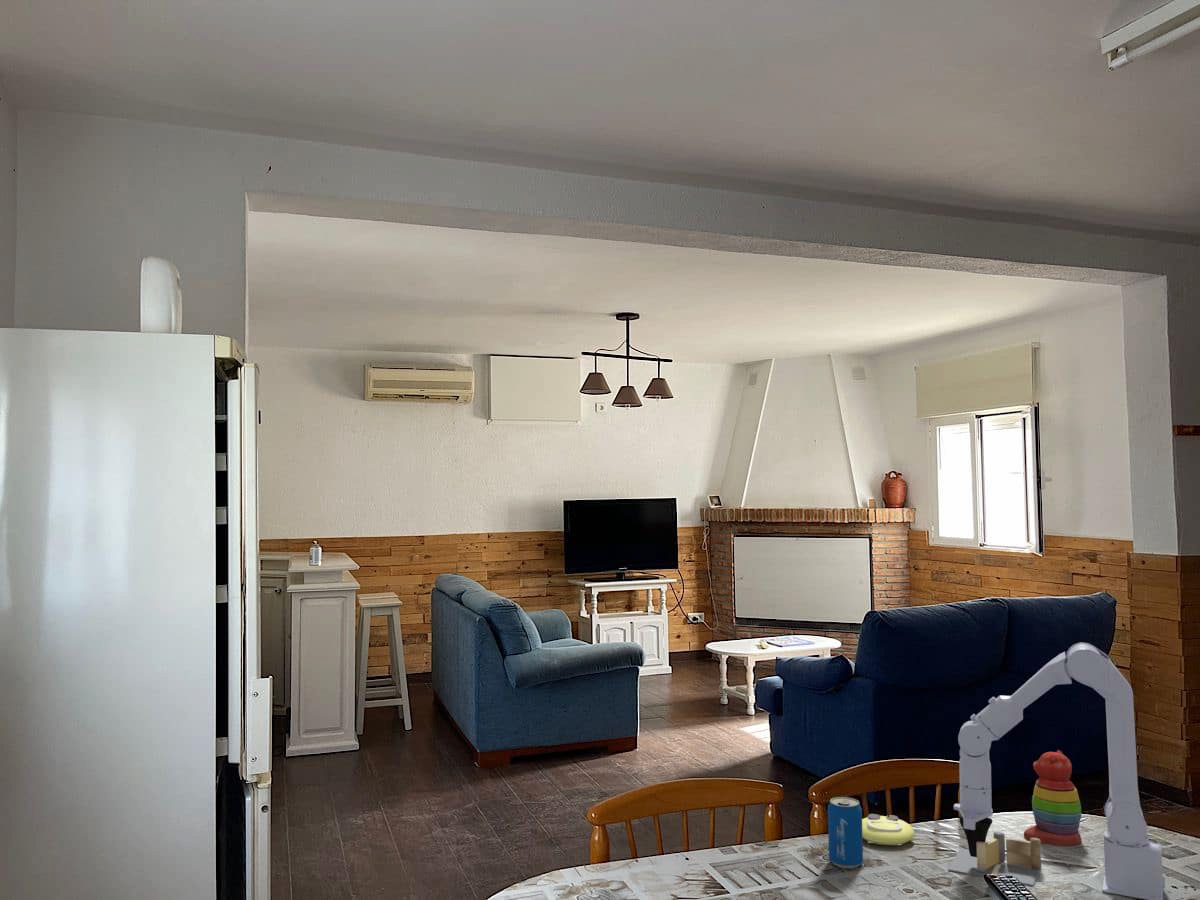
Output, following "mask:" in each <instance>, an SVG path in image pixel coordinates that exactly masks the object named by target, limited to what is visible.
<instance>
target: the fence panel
mask: <svg viewBox="0 0 1200 900" xmlns="http://www.w3.org/2000/svg"><path fill="white" fill-rule="evenodd" d="M992 836H993V838H992V839H990V840H988V841H985V843H984V842H976V843H977V870H978V871H982V872H985V871H986V869H987V868H989V867H991V866H993V865H994V864H996V863H998V862H999V861H1000V862H1004V861H1005V856H1006V837H1005V833H1004V832H1001V831H994V832H993V835H992Z"/></svg>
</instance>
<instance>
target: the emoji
mask: <svg viewBox="0 0 1200 900" xmlns="http://www.w3.org/2000/svg"><path fill="white" fill-rule="evenodd" d="M915 833H916V832H915V830H914V828H913V826H911V825H910V824H909V823H907V822H906V821H904V820H902V819H899V817H898V816H897V815H893V814H889V817H888V815H886V816H884V815H880V814H877V813H869V814H868V816H867V817H864V818H862V839H864V840H865V841H867V842H868V841H870V842H873V843H876V844H875V845H883V846H899V845H898V844H903V845H904V844H905V843H908V842H909V841H911V840H913V838H914V836H915Z"/></svg>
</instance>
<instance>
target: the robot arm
mask: <svg viewBox="0 0 1200 900" xmlns="http://www.w3.org/2000/svg"><path fill="white" fill-rule="evenodd" d="M1072 679H1074V680H1075V681H1076V682H1078V683H1080V684H1082V685H1084V686H1088V687H1090V688H1091V689H1093V690H1094V691H1095V692H1097V693H1098V694H1099V695H1100V696H1102V698H1103V699H1105V700H1104V701H1105V715H1106V716H1105V717H1106V718H1105V719H1106V738H1107V739H1106V741H1107V756H1108V757H1107V758H1108V778H1109V779H1108V780H1109V782H1108V783H1109V784H1108V786H1109V787H1108V793H1109V795H1108V798H1107V801H1106V802H1105V805H1104V815H1105V818H1106V820H1107V821H1106V823H1107V830H1105V831H1104V832H1103V846H1104V847H1103V849H1104V875H1103V881H1102V885H1101V886H1102V887H1101V891H1102V892H1103V893H1108V894H1113V895H1119V896H1125V897H1130V898H1137V899H1143V900H1164V889H1165V888H1166V880H1165V879H1166V878H1165V877H1164V876H1163V856H1162V855H1163V853H1162V845H1161V844H1159V843H1155V842H1151V841H1150V840H1149V836H1147V835H1148V825H1147V822H1146V820H1145V818H1144V813H1143V809H1142V807H1141V802H1140V794H1139V786H1138V784H1139V783H1138V767H1137V766H1138V764H1137V748H1136V747H1137V746H1136V745H1137V744H1136V730H1135V729H1136V726H1135V725H1136V724H1135V710H1134V709H1135V708H1134V706H1135V705H1134V692H1133V688H1132V686H1131V684H1130V683H1129V682H1128V680H1127V679H1126V678H1125V677H1124V675H1123V674H1122V673H1121V672H1120V670H1119V669H1118V668H1117V666H1116V665H1115V664H1114V662H1113V661H1112V660H1111V658H1109V656H1108V655H1107V654H1106V653H1105V652H1103V651H1101V649H1099V648H1097V647H1096V646H1094V645H1092V644H1091V643H1088V642H1078V643H1074V644H1072V645H1071V646H1070V647H1069V648H1068V650H1067V651H1063V652H1061V653H1059V654H1058V655H1057V656H1055V657H1054V658H1052V659H1051V660H1050V661H1049V662H1047V663H1046V664H1045V665H1043V666H1042V668H1040V669H1039V670H1037V672H1036V673H1035V674H1034V675H1032V677H1030V678H1029V679H1028V680H1027V681H1026V682H1025V683H1024V684H1022V685H1021V686H1020V687H1019V688H1018V689H1017V690H1015V692H1014V693H1012V694H1011V695H998V696H997V697H995V696H992V697H991V698H990V699H988V705H987V706H986V707H984V708H983V709H982V710H981V711H979V712H978V713H977V714H975V713H973V714H972V715H971V716H970V718H969V719H970V720H968V721H966V722H964V723H963V724H962V726H961V727H960V730H959V733H958V735H957V737H958V738H957V741H958V745H959V747H960V749H959V757H960V758H959V763H958V764H959V772H958V773H959V803H954V805H953V810H955V811H958V812H959V813H960V815H961V816H960V817H959V824H960V826H961V827H962V829H963V831H964V834H965V837H966V841H967V847H968V848H967V849H969V853H970V856H972V857H977V843H976V842H984V843H986V842H987V836H988V832H989V829H991V828H990V827H991V826H992V823H993V819H992V818H990V817H992V816H993V814H994V813H993V812H994V811H993V808H992V807H993V806H992V804H993V803H992V764H991V761H990V750H991V746H992V742H993V741H999V740H1000V739H1001V738H1002V737H1003V736H1004V735H1005V734H1007V733H1008V732H1010V731H1011V730H1012V729H1014V727H1015V726H1017V725H1018V724H1019V723H1020V722H1021V721H1023V720H1024V715H1023V714H1024V709H1025V708H1027V707H1028V706H1029V705H1031V704H1032V703H1034V702H1035V701H1036V700H1038V699H1039V698H1040V697H1041V696H1043V695H1044V694H1045V693H1046V692H1048V691H1049V690H1050V689H1052V688H1054V687H1055V686H1057V685H1071V684H1073V682H1072V681H1073V680H1072Z"/></svg>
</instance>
